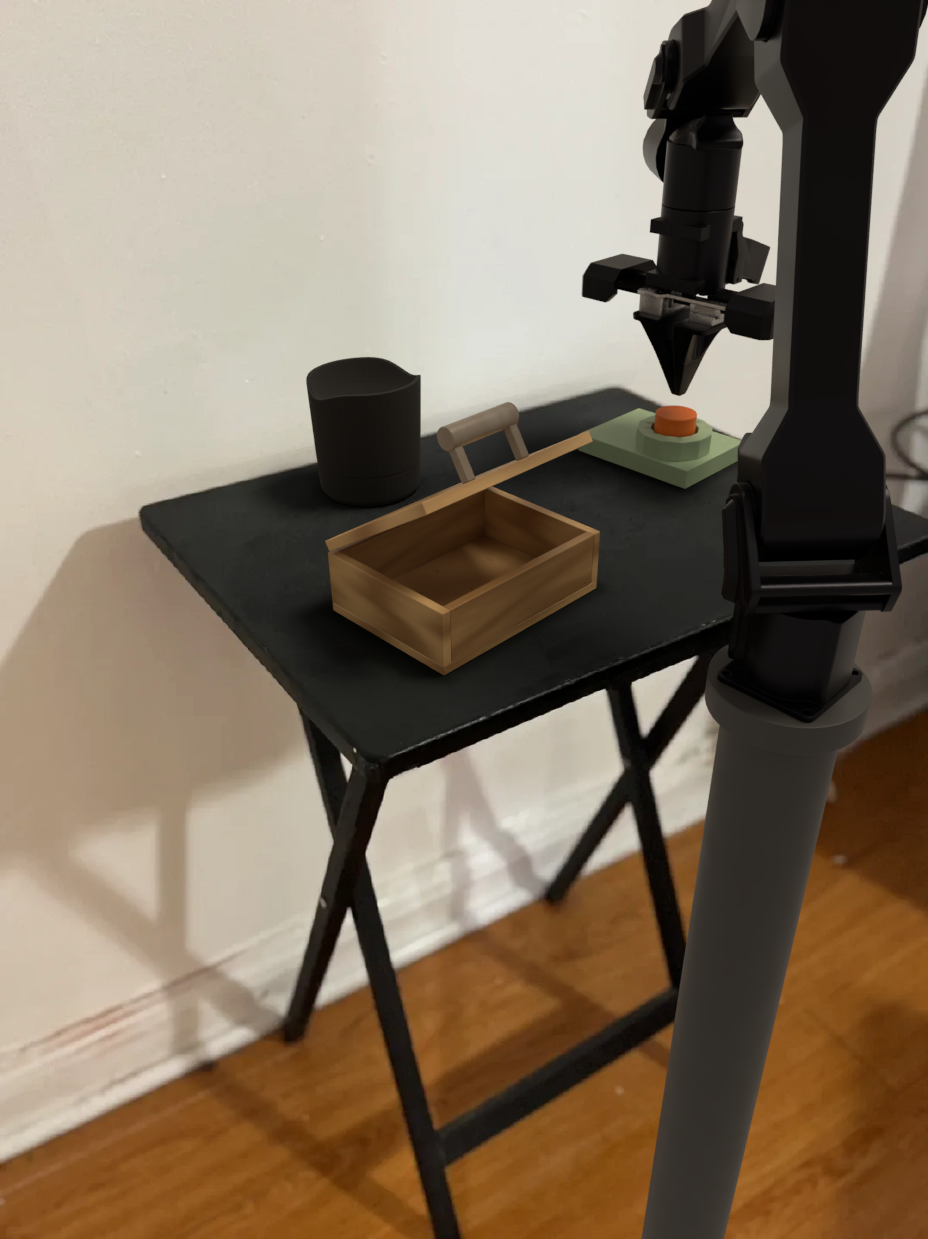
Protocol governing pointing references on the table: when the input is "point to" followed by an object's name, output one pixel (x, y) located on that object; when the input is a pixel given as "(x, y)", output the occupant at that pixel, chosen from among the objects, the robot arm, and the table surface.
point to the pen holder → (366, 430)
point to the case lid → (468, 467)
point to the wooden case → (464, 576)
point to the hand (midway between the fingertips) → (678, 394)
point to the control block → (662, 449)
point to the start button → (675, 421)
